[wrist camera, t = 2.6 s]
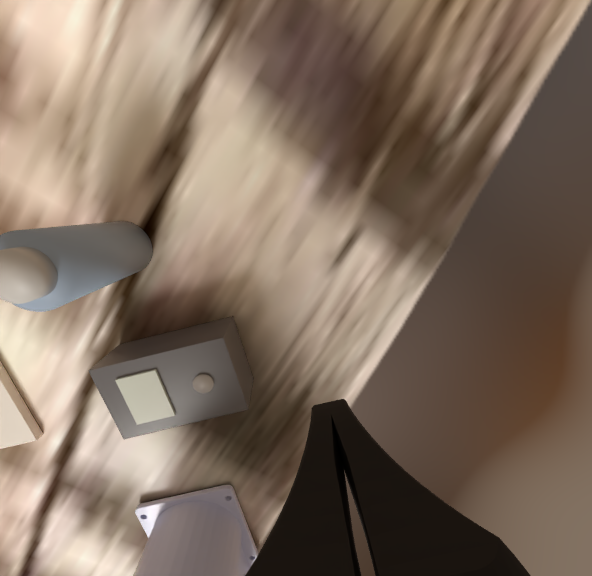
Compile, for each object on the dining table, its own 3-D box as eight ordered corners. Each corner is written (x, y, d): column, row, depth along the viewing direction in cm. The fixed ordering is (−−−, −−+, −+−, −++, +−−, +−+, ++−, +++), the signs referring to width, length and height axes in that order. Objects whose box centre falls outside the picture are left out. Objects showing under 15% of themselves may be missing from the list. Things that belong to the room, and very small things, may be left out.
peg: (160, 266, 18) (73, 308, 11) (111, 277, 18) (-9, 327, 11) (141, 215, 17) (32, 222, 10) (90, 228, 17) (-56, 244, 10)
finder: (254, 377, 21) (247, 411, 17) (149, 402, 21) (122, 441, 18) (233, 314, 20) (222, 338, 16) (121, 342, 20) (86, 372, 16)
